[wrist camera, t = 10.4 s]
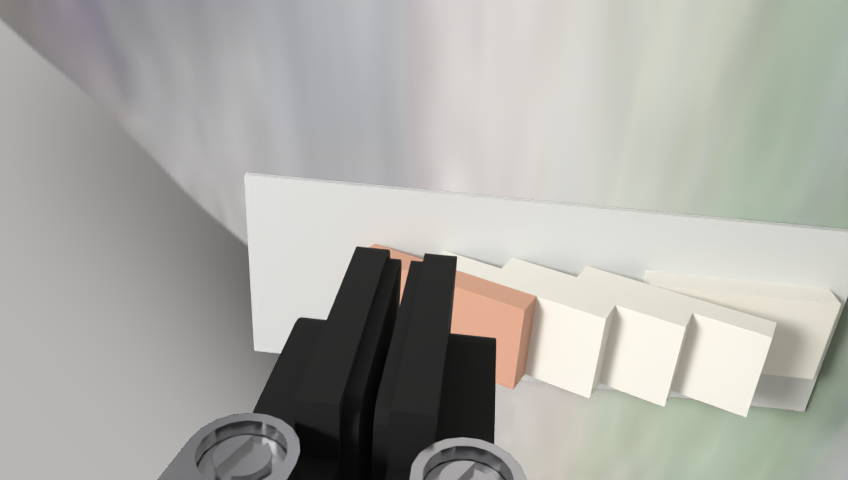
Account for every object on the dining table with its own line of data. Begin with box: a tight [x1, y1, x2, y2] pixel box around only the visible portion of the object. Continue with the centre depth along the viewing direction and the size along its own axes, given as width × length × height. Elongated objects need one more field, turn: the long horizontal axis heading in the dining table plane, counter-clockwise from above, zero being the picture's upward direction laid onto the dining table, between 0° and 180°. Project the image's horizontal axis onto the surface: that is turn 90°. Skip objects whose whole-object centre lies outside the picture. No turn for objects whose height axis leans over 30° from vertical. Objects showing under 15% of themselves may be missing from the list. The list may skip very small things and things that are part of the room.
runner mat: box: [244, 172, 848, 411], centre depth 43 cm, size 34×12×1 cm, turn 86°
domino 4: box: [578, 266, 776, 417], centre depth 39 cm, size 2×5×10 cm
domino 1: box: [369, 244, 537, 389], centre depth 40 cm, size 2×5×10 cm
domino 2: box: [440, 251, 615, 399], centre depth 40 cm, size 2×5×10 cm
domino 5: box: [643, 271, 841, 379], centre depth 41 cm, size 2×5×10 cm
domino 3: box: [501, 258, 692, 407], centre depth 40 cm, size 2×5×10 cm
